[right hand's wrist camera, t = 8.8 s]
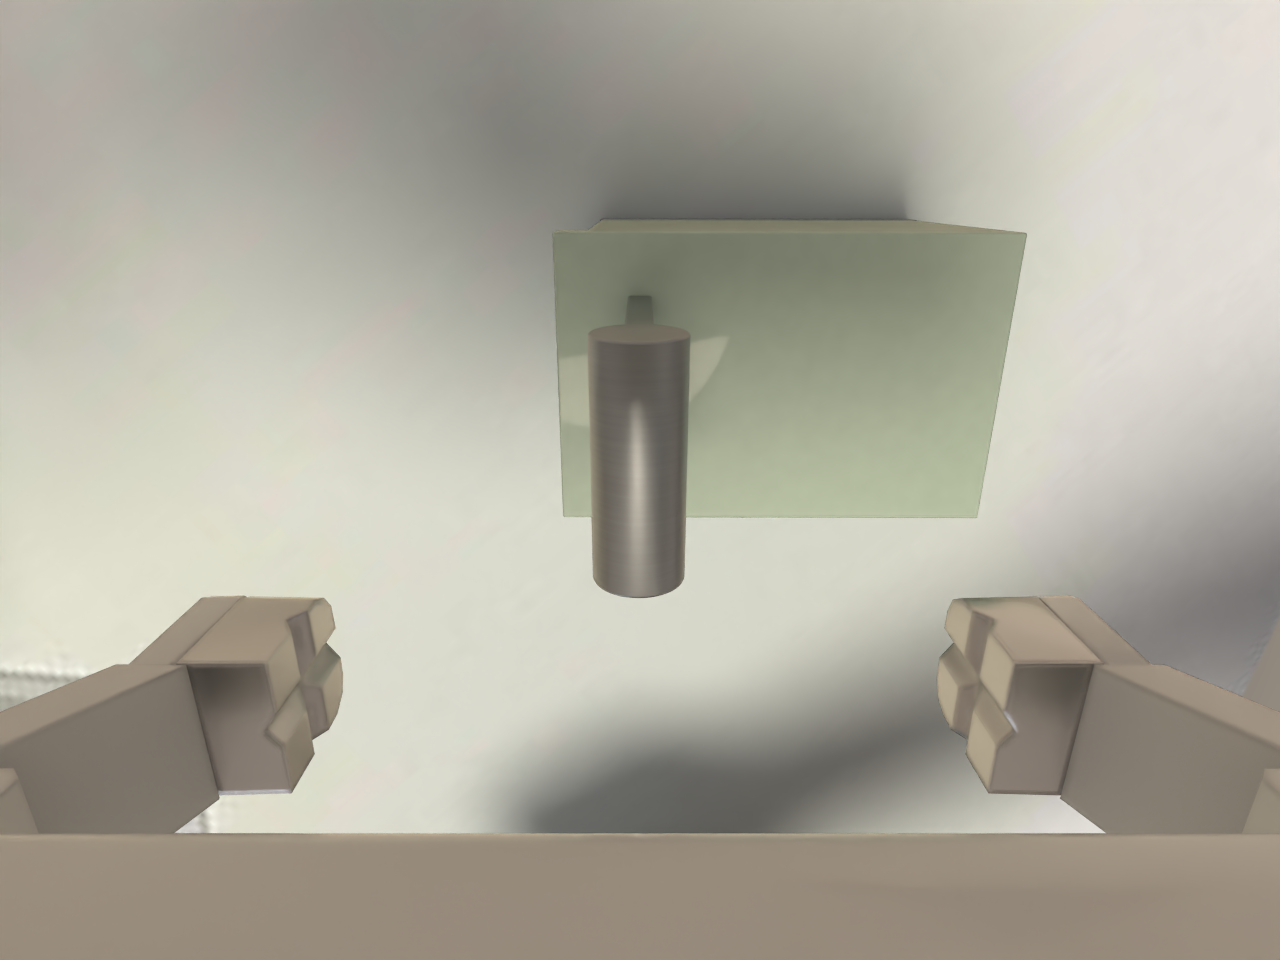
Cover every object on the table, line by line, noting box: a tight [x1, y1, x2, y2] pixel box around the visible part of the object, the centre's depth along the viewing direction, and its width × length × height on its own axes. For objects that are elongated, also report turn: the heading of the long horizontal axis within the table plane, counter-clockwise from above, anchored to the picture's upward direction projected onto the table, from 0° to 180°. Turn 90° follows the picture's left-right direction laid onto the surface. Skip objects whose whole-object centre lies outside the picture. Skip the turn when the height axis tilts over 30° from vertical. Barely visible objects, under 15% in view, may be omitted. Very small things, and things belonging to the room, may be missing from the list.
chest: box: [589, 219, 1004, 231], centre depth 29 cm, size 13×9×9 cm
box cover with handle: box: [553, 230, 1027, 598], centre depth 20 cm, size 14×9×9 cm, turn 90°
